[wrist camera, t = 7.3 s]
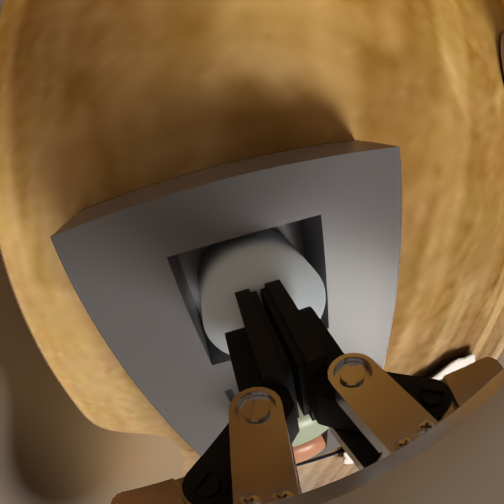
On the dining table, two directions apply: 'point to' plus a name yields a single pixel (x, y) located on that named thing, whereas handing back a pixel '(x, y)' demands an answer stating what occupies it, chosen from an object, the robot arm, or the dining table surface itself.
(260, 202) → the button panel
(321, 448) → the terracotta button
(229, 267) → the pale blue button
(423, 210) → the dining table surface
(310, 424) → the sage button
